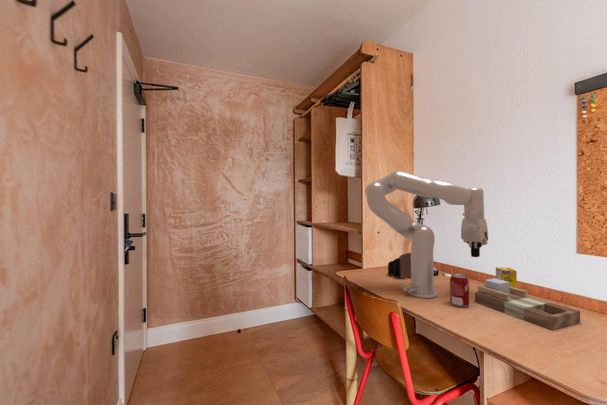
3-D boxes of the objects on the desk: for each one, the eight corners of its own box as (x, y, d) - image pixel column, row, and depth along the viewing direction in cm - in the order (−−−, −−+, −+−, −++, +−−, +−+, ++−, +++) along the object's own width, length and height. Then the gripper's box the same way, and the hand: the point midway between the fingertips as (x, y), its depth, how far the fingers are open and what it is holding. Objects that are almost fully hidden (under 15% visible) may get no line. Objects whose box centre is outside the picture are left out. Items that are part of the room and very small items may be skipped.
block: (499, 296, 108) (499, 283, 108) (484, 291, 114) (484, 279, 114) (509, 294, 110) (509, 282, 110) (494, 289, 116) (494, 278, 116)
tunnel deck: (552, 330, 88) (552, 310, 88) (474, 301, 113) (474, 286, 113) (580, 322, 93) (579, 303, 93) (499, 297, 118) (499, 282, 118)
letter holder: (426, 275, 155) (426, 250, 155) (400, 280, 146) (400, 254, 146) (412, 271, 164) (412, 248, 164) (387, 276, 155) (387, 251, 155)
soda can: (462, 309, 106) (462, 278, 106) (446, 303, 112) (446, 274, 112) (473, 306, 109) (472, 276, 109) (456, 300, 115) (456, 272, 115)
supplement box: (517, 295, 120) (517, 270, 120) (502, 294, 121) (501, 270, 121) (510, 290, 126) (509, 267, 126) (495, 290, 127) (495, 267, 127)
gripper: (453, 215, 127) (454, 254, 127) (484, 216, 113) (485, 260, 113) (465, 214, 129) (466, 253, 129) (496, 215, 115) (498, 258, 115)
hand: (475, 256), depth 121 cm, fingers closed
